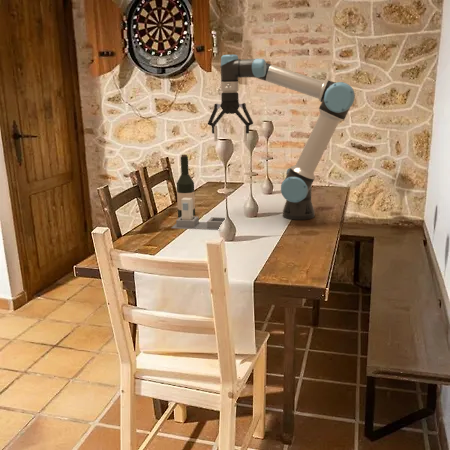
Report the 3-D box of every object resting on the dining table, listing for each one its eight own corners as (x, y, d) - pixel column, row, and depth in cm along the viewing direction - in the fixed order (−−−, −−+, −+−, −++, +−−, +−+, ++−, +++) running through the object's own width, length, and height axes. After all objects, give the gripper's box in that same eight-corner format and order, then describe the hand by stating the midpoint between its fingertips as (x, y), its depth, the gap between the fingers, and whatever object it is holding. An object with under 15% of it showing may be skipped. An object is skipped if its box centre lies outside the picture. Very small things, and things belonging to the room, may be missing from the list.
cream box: (193, 224, 223) (192, 197, 220) (190, 226, 218) (189, 200, 215) (184, 223, 224) (183, 197, 220) (181, 226, 219) (180, 200, 216)
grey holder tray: (234, 225, 223) (234, 216, 222) (228, 232, 212) (228, 223, 211) (179, 223, 228) (178, 214, 227) (170, 230, 217) (170, 221, 216)
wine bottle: (198, 216, 240) (196, 154, 232) (186, 220, 234) (183, 156, 226) (187, 214, 245) (184, 153, 238) (174, 217, 240) (171, 155, 232)
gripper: (200, 92, 216) (201, 141, 222) (256, 91, 211) (256, 141, 216) (204, 92, 223) (205, 140, 229) (259, 91, 218) (259, 140, 223)
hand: (230, 141), depth 222 cm, fingers open, 13 cm apart
